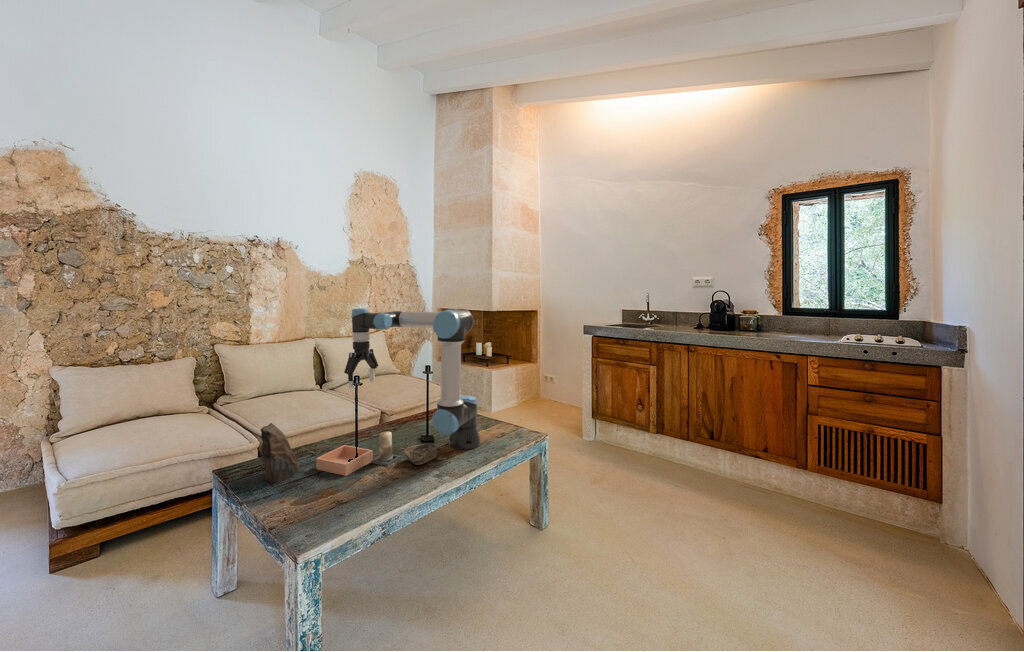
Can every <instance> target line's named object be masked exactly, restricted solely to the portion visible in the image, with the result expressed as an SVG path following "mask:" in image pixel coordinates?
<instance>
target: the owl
mask: <svg viewBox="0 0 1024 652" xmlns="http://www.w3.org/2000/svg"><path fill="white" fill-rule="evenodd" d="M259 431H260V432H261V433H260V434H261V435H260V439H261V441H262V444H261V446H260V447H261V457H260V459H261V461H262V463H263V467H264V471H265V474H264V477H265V478H266V479H265V482H267V483H271V484H278V483H281V482H283V481H284V480H287V479H289V478H291V477H293V476H296V475H297V474H298V473H300V472H301V471H300V465H298V462H297V457H296V453H294V451H293V450H292V449H293V448H291V444H290V442H289V440H288V439H287V436H286V435H285V434H284V432H283V431H282V430H281V429H280V428H278V427H277V426H276V425H275V424H273V423H272V422H270V423H269V424H268V425H265V426H263V427H261V429H260V430H259Z"/></svg>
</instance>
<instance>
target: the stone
mask: <svg viewBox="0 0 1024 652" xmlns="http://www.w3.org/2000/svg"><path fill="white" fill-rule="evenodd" d="M437 450H438V448H437V446H436V445H435V444H433V443H423V444H422V443H421V444H418V445H417V444H416V445H415V444H414V445H410V446H407V447H406V448H405V449H404V450H403V455H404V457H406V459H407V460H408V461H410V462H411V463H413V465H417V466H420V465H424V464H426V463H429V462H431V461H432V460H434V459H436V458H437V457H438V451H437Z"/></svg>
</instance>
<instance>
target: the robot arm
mask: <svg viewBox="0 0 1024 652" xmlns="http://www.w3.org/2000/svg"><path fill="white" fill-rule="evenodd" d="M474 323H475V319H474V316H473V315H472V313H471V312H470V310H467V309H466V308H456V309H455V308H453V309H445V310H442V311H402V310H395V311H387V312H386V311H385V312H370V311H369V308H366V307H361V308H353V309H352V310H351V326H352V329H351V330H352V331H351V332H352V350H353V351H354V352H349V353H348V359H347V362H346V365H345V369H344V374H346V375H348V376H347V378H348V379H347V381H348V385H349V386H348V388H350V389H355V388H356V385H355V386H354V385H353V384H352V383H353V380H354V376H356V375H355V373H354V372H355V371H356V369H357V367H358V365H359V363H360V362H361V361H363V360H364V361H365V362H366V364H367V365H368V367H369V369H368V372H369V373H368V374H369V382H372V383H374V382H376V377H375V375H376V369H378V367H379V363H378V361H377V358H376V356H375V353H374V349H373V348H370V346H371V345H370V330H380V331H382V330H388V329H389V328H421V329H422V328H425V329H426V328H427V329H428V328H429V329H430V328H431V329H433V332H434V333H435V335H436V337H437V342H438V343H439V344H440V398H439V399H438V400H437V401H436V410H435V411H434V413H433V414H432V416H431V422H432V426H433V428H434V429H436V431H437V433H440V434H442V435H446V436H447V435H449V438H448V445H449V447H450V448H452V449H456V450H471V449H475V448H478V447H479V446H480V445H481V444H482V442H481V441H482V440H481V439H482V438H481V435H480V433H479V429H478V402H477V401H478V399H477V397H475V396H473V395H461V379H462V378H461V374H462V372H461V371H462V370H461V369H462V368H461V367H462V365H461V364H462V344H463V343H464V342H465V341H466V339H465V338H466V334H467V333H469V332H470V331H471V330H472V329H473V326H474ZM389 330H390V329H389Z"/></svg>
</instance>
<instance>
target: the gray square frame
mask: <svg viewBox="0 0 1024 652" xmlns="http://www.w3.org/2000/svg"><path fill="white" fill-rule="evenodd" d="M392 455H393V460H391V461H390V462H388V463H386V462H381V461H379V456H376V457H375V458H373V460H371V462H370V463H371V464H376V465H378V466H379V465H380V466H385V467H389V466H390V465H393V464H394V463H396V462H398V461H399V460H400V459H401V458H402V456H401V455H397V454H392Z"/></svg>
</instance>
